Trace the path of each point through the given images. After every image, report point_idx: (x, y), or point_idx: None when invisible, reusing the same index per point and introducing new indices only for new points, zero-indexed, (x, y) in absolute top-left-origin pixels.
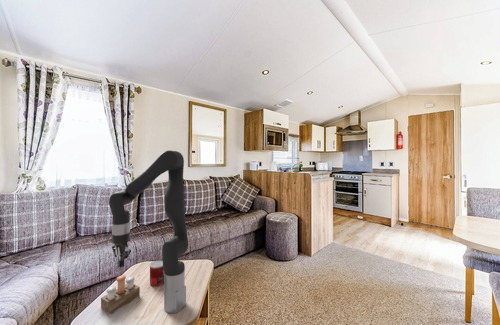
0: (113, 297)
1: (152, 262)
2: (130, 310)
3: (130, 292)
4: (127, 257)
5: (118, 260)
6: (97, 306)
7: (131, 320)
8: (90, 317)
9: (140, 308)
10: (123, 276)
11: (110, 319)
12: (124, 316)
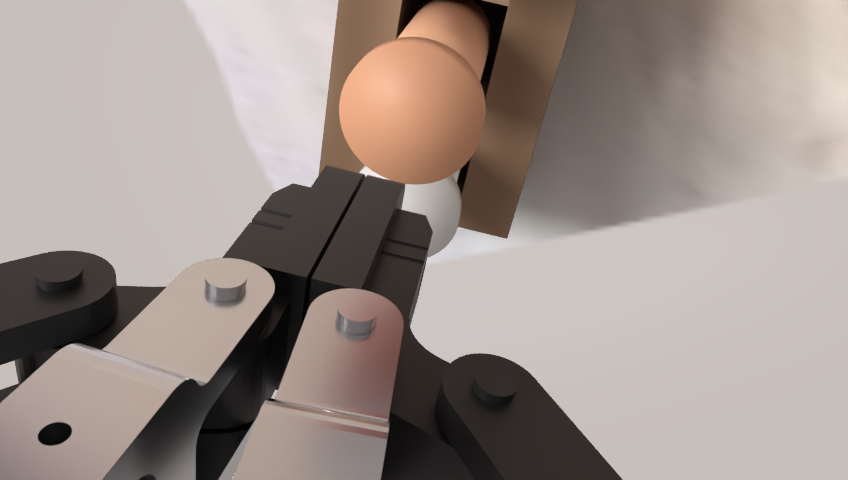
0: (458, 170)
1: None
2: (673, 90)
3: (575, 6)
4: (545, 394)
5: (279, 380)
6: (291, 136)
7: (781, 192)
8: None
9: (773, 33)
10: (422, 81)
11: (564, 226)
12: (670, 170)
